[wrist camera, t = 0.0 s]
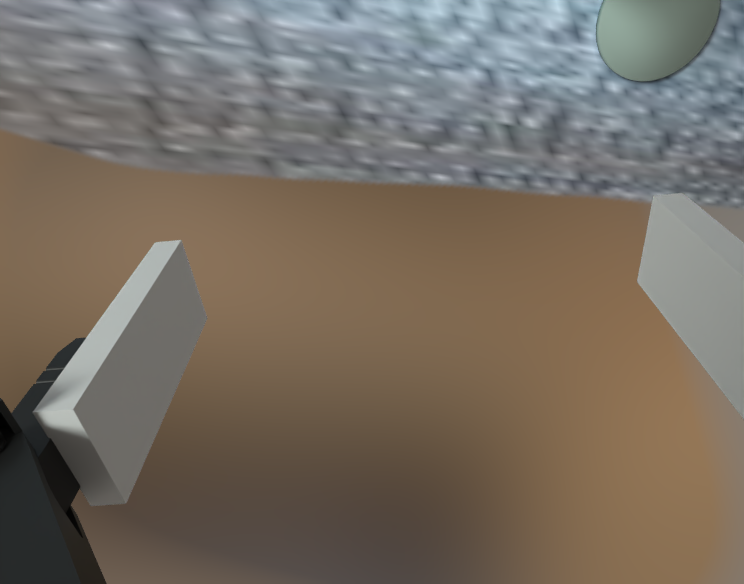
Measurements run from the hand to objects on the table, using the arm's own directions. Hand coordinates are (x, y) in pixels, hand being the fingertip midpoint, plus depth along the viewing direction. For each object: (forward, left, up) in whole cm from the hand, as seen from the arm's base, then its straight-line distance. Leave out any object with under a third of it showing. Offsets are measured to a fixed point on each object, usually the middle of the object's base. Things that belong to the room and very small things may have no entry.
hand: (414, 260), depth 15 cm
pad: (-1, +19, -28) cm, 34 cm away
